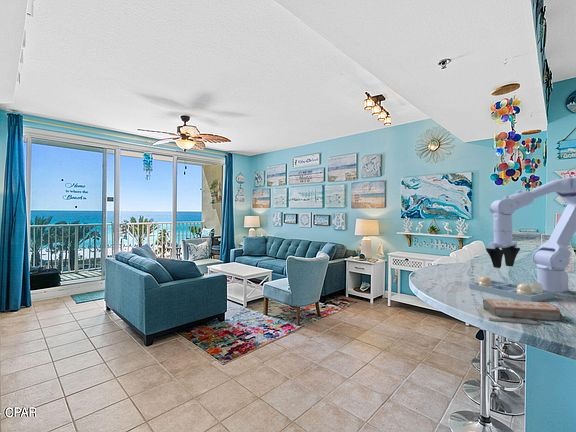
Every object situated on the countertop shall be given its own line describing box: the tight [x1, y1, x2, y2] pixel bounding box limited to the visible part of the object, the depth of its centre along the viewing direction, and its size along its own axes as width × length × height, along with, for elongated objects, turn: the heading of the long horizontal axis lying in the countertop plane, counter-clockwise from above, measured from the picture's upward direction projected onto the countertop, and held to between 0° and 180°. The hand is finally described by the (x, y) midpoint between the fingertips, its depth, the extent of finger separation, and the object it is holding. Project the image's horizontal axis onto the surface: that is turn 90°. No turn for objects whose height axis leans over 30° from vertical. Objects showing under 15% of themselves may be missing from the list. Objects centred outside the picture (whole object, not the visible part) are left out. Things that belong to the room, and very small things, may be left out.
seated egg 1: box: [517, 282, 532, 296], centre depth 95 cm, size 4×4×5 cm
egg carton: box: [468, 279, 555, 302], centre depth 102 cm, size 14×20×3 cm
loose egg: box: [478, 276, 492, 287], centre depth 106 cm, size 4×4×5 cm
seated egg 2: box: [527, 281, 543, 293], centre depth 97 cm, size 4×4×5 cm
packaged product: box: [475, 298, 564, 326], centre depth 80 cm, size 18×5×10 cm
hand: (503, 266), depth 107 cm, fingers open, 7 cm apart
